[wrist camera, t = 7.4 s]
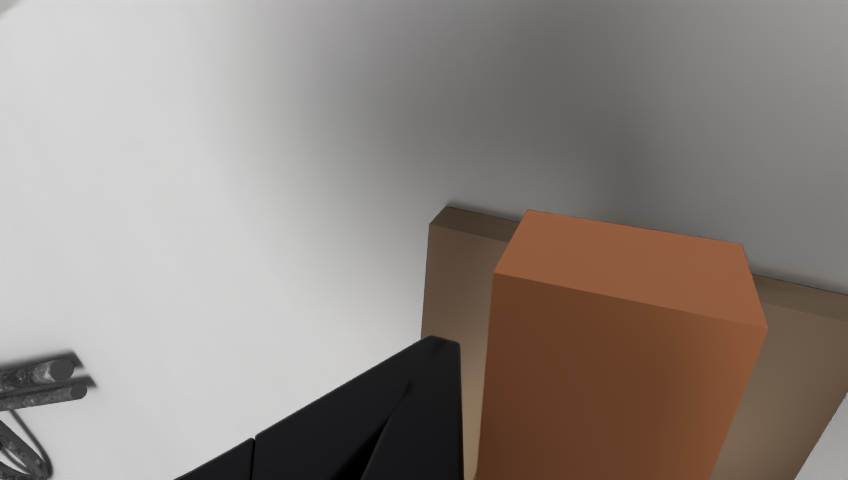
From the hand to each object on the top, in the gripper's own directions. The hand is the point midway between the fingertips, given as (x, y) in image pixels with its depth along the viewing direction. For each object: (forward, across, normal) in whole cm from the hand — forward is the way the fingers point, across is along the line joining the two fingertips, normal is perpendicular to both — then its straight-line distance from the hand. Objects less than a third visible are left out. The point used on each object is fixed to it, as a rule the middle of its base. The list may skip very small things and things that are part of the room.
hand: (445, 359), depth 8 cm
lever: (0, -2, +5) cm, 5 cm away
